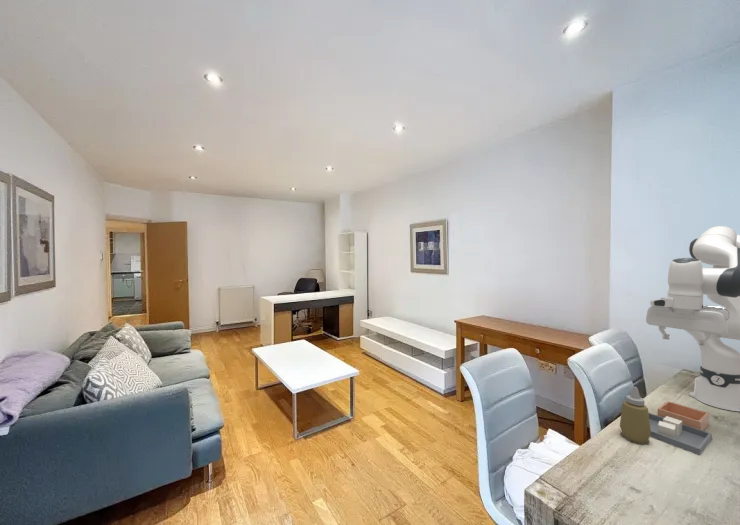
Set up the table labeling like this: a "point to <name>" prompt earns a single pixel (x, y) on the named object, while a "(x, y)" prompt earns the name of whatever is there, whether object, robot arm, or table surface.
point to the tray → (682, 436)
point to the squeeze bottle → (635, 418)
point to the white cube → (674, 422)
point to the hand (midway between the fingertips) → (683, 342)
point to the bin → (684, 414)
